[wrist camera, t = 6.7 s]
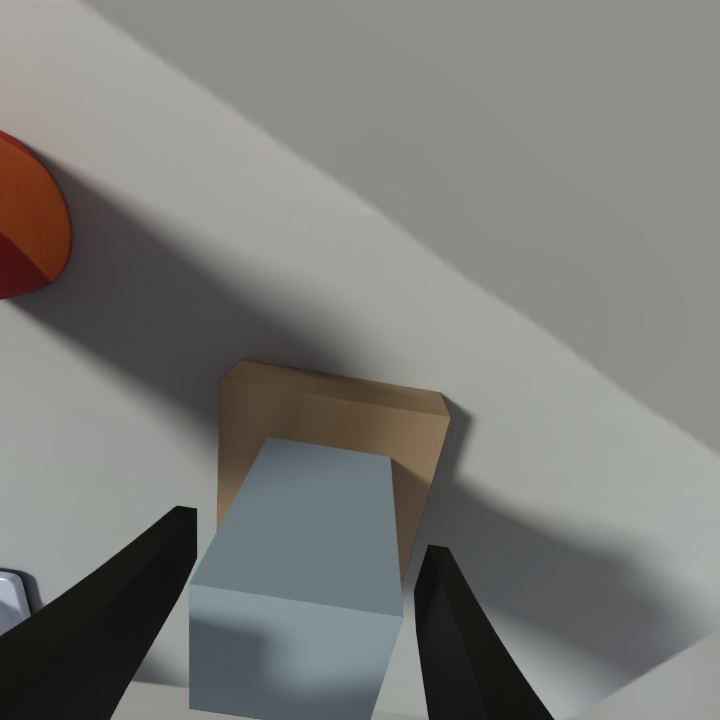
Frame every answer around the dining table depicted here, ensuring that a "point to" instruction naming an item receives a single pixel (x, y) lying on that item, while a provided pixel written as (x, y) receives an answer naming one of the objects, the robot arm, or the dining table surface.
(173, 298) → the dining table surface
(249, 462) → the base
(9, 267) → the paper cup
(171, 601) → the robot arm
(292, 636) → the block
